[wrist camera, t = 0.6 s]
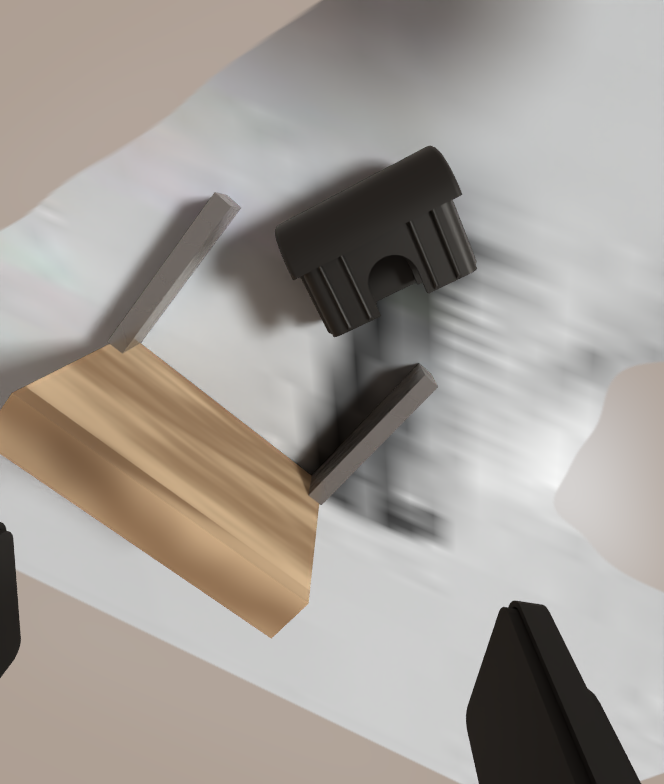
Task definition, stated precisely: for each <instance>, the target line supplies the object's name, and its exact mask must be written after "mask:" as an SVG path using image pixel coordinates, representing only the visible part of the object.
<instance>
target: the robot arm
mask: <svg viewBox="0 0 664 784" xmlns="http://www.w3.org/2000/svg"><path fill="white" fill-rule="evenodd" d="M20 642H21V636H20V623H19V610H18V596H17V583H16V569H15V556H14V543H13V535H12V534H11V532H9V531H6V527H5V525H4V524H3V523H1V522H0V678H1V676H2V675H3V674H4V672H5V671H6V670H7V668H8V667H9V666H10V665H11V663H12V661H13V660H14V659H15V657H16V655H17V653H18V650H19V647H20ZM466 725H467V732H468V736H469V741H470V745H471V750H472V754H473V759H474V763H475V768H476V772H477V777H478V781H479V784H641V783H640V781H639V779H638V777H637V775H636V773H635V771H634V769H633V767H632V765H631V763H630V761H629V759H628V757H627V755H626V753H625V751H624V749H623V747H622V745H621V743H620V741H619V739H618V737H617V735H616V733H615V731H614V729H613V727H612V726H611V724H610V722H609V720H608V718H607V716H606V714H605V712H604V710H603V708H602V706H601V704H600V702H599V701H598V699H597V698H596V696H595V694H594V693H592V692H591V691H590V690H589V689H587V687H586V685H585V683H584V681H583V679H582V677H581V675H580V673H579V671H578V669H577V667H576V665H575V663H574V661H573V659H572V657H571V655H570V652H569V650H568V648H567V646H566V644H565V642H564V640H563V638H562V636H561V634H560V632H559V630H558V628H557V626H556V624H555V622H554V620H553V618H552V616H551V614H550V612H549V611H548V609H547V608H546V607H545V606H544V605H540V604H534V603H527V602H521V601H512V602H511V603H510V605H509V607H508V608H507V607H502V608H501V609H500V611H499V614H498V617H497V620H496V623H495V626H494V629H493V632H492V635H491V638H490V641H489V644H488V647H487V650H486V653H485V656H484V659H483V662H482V665H481V668H480V671H479V674H478V677H477V680H476V683H475V686H474V689H473V692H472V695H471V698H470V701H469V704H468V707H467V713H466Z"/></svg>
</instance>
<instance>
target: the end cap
mask: <svg viewBox="0 0 664 784" xmlns="http://www.w3.org/2000/svg"><path fill="white" fill-rule="evenodd" d="M461 195H462V193H461V190H460V188H459V185H458V183H457V181H456V179H455V176H454V174H453V172H452V170H451V168H450V167H449V165H448V163H447V161H446V160H445V158H444V157H443V155H442V154H441V153H440V152H439V151H438V150H437V149H436V148H435V147H433V146H427V147H425V148H423V149H421V150H419V151H417V152H415V153H414V154H412V155H410V156H408V157H406V158H404V159H402V160H400V161H399V162H397V163H395V164H393V165H391V166H389V167H387V168H385V169H383V170H382V171H380V172H378V173H376V174H374V175H372V176H370V177H368V178H366V179H365V180H363V181H361V182H359V183H357V184H355V185H353V186H351V187H350V188H348V189H346V190H344V191H342V192H340V193H338V194H336V195H334V196H333V197H331V198H329V199H327V200H325V201H323V202H321V203H319V204H317V205H316V206H314V207H312V208H310V209H308V210H306V211H304V212H302V213H301V214H299V215H297V216H295V217H293V218H291V219H289V220H287V221H285V222H284V223H282V224H280V225H278V226H277V227H276V229H275V236H276V240H277V243H278V246H279V249H280V252H281V254H282V257H283V259H284V262H285V264H286V266H287V268H288V270H289V272H290V274H291V277H292V279H293V280H295V279H297V278H299V277H301V279H302V281H303V283H304V285H305V287H306V289H307V291H308V293H309V295H310V297H311V299H312V301H313V303H314V305H315V307H316V309H317V311H318V313H319V315H320V317H321V319H322V321H323V323H324V325H325V327H326V329H327V331H328V332H329V333H331V334H332V335H333V337H337V336H340V335H342V334H344V333H347V332H349V331H351V330H353V329H355V328H357V327H359V326H361V325H363V324H365V323H368V322H370V321H372V320H374V319H376V318H378V317H380V316H381V315H380V312H379V310H378V308H377V306H376V304H377V303H376V302H377V301H379V300H381V299H383V298H385V297H387V296H389V295H391V294H393V293H395V292H397V291H399V290H401V289H404V288H406V287H408V286H410V285H412V284H414V283H417V284H420V283H422V282H423V285H424V287H425V289H426V292H427V293H431V292H433V291H435V290H437V289H439V288H441V287H443V286H445V285H447V284H449V283H452V282H454V281H456V280H458V279H460V278H462V277H464V276H466V275H468V274H470V273H472V272H474V271H475V270H476V269H477V267H476V259H475V256H474V254H473V251H472V248H471V246H470V243H469V241H468V238H467V236H466V233H465V231H464V228H463V225H462V223H461V220H460V218H459V215H458V213H457V210H456V207H455V205H454V202H453V199H455V198H457V197H459V196H461Z"/></svg>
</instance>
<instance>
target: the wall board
mask: <svg viewBox="0 0 664 784" xmlns="http://www.w3.org/2000/svg"><path fill="white" fill-rule="evenodd" d="M0 454H1V455H3V456H4V457H6V458H7V459H9V460H10V461H12V462H13V463H14V464H16V465H17V466H19V467H20V468H22V469H23V470H25V471H26V472H28V473H29V474H31V475H32V476H34V477H35V478H36V479H38V480H39V481H41V482H42V483H44V484H45V485H47V486H48V487H50V488H51V489H53V490H54V491H56V492H57V493H58V494H60V495H61V496H63V497H64V498H66V499H67V500H69V501H70V502H72V503H73V504H75V505H76V506H78V507H79V508H81V509H82V510H83V511H85V512H86V513H88V514H89V515H91V516H92V517H94V518H95V519H97V520H98V521H100V522H101V523H103V524H104V525H105V526H107V527H108V528H110V529H111V530H113V531H114V532H116V533H117V534H119V535H120V536H122V537H123V538H125V539H126V540H127V541H129V542H130V543H132V544H133V545H135V546H136V547H138V548H139V549H141V550H142V551H144V552H145V553H147V554H148V555H149V556H151V557H152V558H154V559H155V560H157V561H158V562H160V563H161V564H163V565H164V566H166V567H167V568H169V569H170V570H172V571H173V572H174V573H176V574H177V575H179V576H180V577H182V578H183V579H185V580H186V581H188V582H189V583H191V584H192V585H194V586H195V587H196V588H198V589H199V590H201V591H202V592H204V593H205V594H207V595H208V596H210V597H211V598H213V599H214V600H216V601H217V602H218V603H220V604H221V605H223V606H224V607H226V608H227V609H229V610H230V611H232V612H233V613H235V614H236V615H238V616H239V617H241V618H242V619H243V620H245V621H246V622H248V623H249V624H251V625H252V626H254V627H255V628H257V629H258V630H260V631H261V632H263V633H264V634H265V635H267V636H268V637H270V638H272V637H273V636H274V635H276V634H277V633H278V632H279V631H280V630H281V629H282V628H283V627H284V626H285V625H286V624H287V623H288V622H289V621H290V620H291V619H293V618H294V617H295V616H296V615H297V614H298V613H299V612H300V611H301V610H302V609H303V608H304V607H305V606H306V605H307V604H308V603H309V593H310V584H311V575H312V565H313V556H314V547H315V537H316V528H317V518H318V509H319V503H318V502H316V501H315V500H314V499H312V498H311V497H310V496H308V495H309V489H310V482H311V475H310V474H309V473H307V472H306V471H305V470H304V469H302V468H301V467H300V466H298V465H297V464H296V463H295V462H293V461H292V460H291V459H289V458H288V457H287V456H286V455H284V454H283V453H282V452H280V451H279V450H278V449H276V448H275V447H274V446H273V445H271V444H270V443H269V442H267V441H266V440H265V439H264V438H262V437H261V436H260V435H258V434H257V433H256V432H254V431H253V430H252V429H251V428H249V427H248V426H247V425H245V424H244V423H243V422H242V421H240V420H239V419H238V418H236V417H235V416H234V415H233V414H231V413H230V412H229V411H227V410H226V409H225V408H223V407H222V406H221V405H220V404H218V403H217V402H216V401H214V400H213V399H212V398H211V397H209V396H208V395H207V394H205V393H204V392H203V391H201V390H200V389H199V388H198V387H196V386H195V385H194V384H192V383H191V382H190V381H189V380H187V379H186V378H185V377H183V376H182V375H181V374H180V373H178V372H177V371H176V370H174V369H173V368H172V367H170V366H169V365H168V364H167V363H165V362H164V361H163V360H161V359H160V358H159V357H158V356H156V355H155V354H154V353H152V352H151V351H150V350H148V349H147V348H146V347H145V346H143V345H142V344H141V343H140V344H138V345H137V346H135V347H133V348H131V349H130V350H128V351H126V352H124V353H123V354H122V353H121V352H120V351H118V350H117V349H116V348H114V347H113V346H112V345H110V344H109V345H107V346H105V347H103V348H101V349H99V350H97V351H95V352H93V353H91V354H89V355H87V356H85V357H83V358H81V359H79V360H77V361H75V362H73V363H71V364H69V365H67V366H65V367H63V368H61V369H59V370H57V371H55V372H53V373H51V374H49V375H47V376H45V377H43V378H41V379H39V380H37V381H35V382H33V383H31V384H29V385H27V386H25V387H23V388H21V389H19V390H17V391H15V392H13V393H12V394H11V395H10V397H9V398H8V400H7V401H6V403H5V404H4V406H3V407H2V409H1V410H0Z"/></svg>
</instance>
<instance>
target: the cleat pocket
mask: <svg viewBox="0 0 664 784" xmlns="http://www.w3.org/2000/svg"><path fill="white" fill-rule="evenodd" d="M240 209H241V207H240V206H239V205H237V204H236V203H235V202H234V201H233V200H232V199H231V198H229V197H228V196H227V195H224V194H220V193H216V192H215V193H214V194H213V195H212V197H211V198H210V200H209V201H208V202H207V204H206V205H205V207H204V208H203V209H202V211H201V212H200V213H199V215H198V216H197V218H196V219H195V220H194V222H193V223H192V225H191V226H190V227H189V229H188V230H187V232H186V233H185V234H184V236H183V237H182V238H181V240H180V241H179V243H178V244H177V245H176V247H175V248H174V250H173V251H172V252H171V254H170V255H169V257H168V258H167V259H166V261H165V262H164V264H163V265H162V266H161V268H160V269H159V270H158V272H157V273H156V275H155V276H154V277H153V279H152V280H151V282H150V283H149V284H148V286H147V287H146V289H145V290H144V291H143V293H142V294H141V296H140V297H139V298H138V300H137V301H136V302H135V304H134V305H133V307H132V308H131V309H130V311H129V312H128V314H127V315H126V316H125V318H124V319H123V321H122V322H121V323H120V325H119V326H118V328H117V329H116V330H115V332H114V333H113V334H112V336H111V337H110V339H109V340H108V341H107V342H108V343H109V344H110V345H112V346H113V347H114V348H116V349H117V350H118V351H120V352H121V353H122V354H123V353H124V352H126V351H128V350H130V349H131V348H133V347H135V346H137V345H138V344H140V343H141V342H142V341H143V339H144V338H145V337H146V335H147V334H148V332H149V331H150V330H151V328H152V327H153V326H154V324H155V323H156V322H157V320H158V319H159V318H160V316H161V315H162V314H163V312H164V311H165V310H166V308H167V307H168V306H169V304H170V303H171V302H172V300H173V299H174V298H175V296H176V295H177V293H178V292H179V291H180V289H181V288H182V287H183V285H184V284H185V283H186V281H187V280H188V279H189V277H190V276H191V275H192V273H193V272H194V271H195V269H196V268H197V267H198V265H199V264H200V263H201V261H202V260H203V259H204V257H205V256H206V254H207V253H208V252H209V250H210V249H211V248H212V246H213V245H214V244H215V242H216V241H217V240H218V238H219V237H220V236H221V234H222V233H223V232H224V230H225V229H226V228H227V226H228V225H229V224H230V222H231V221H232V220H233V218H234V217H235V215H236V214H237V213H238V211H239V210H240ZM437 388H438V385H437V384H436V382H435V380H434V378H433V376H432V374H431V373H430V372H429V371H427V370H426V369H425V368H424V367H423V366H422V365H421V364H418V365H417V366H416V367H415V368H414V369H413V370H412V371H411V372H410V373H409V374H408V375H407V376H406V377H405V378H404V379H403V380H402V381H401V383H400V384H399V385H398V386H397V387H396V388H395V389H394V390H393V391H392V392H391V393H390V394H389V395H388V396H387V397H386V398H385V399H384V400H383V401H382V402H381V403H380V404H379V406H378V407H377V408H376V409H375V410H374V411H373V412H372V413H371V414H370V415H369V416H368V417H367V418H366V419H365V420H364V421H363V422H362V423H361V424H360V425H359V426H358V427H357V428H356V430H355V431H354V432H353V433H352V434H351V435H350V436H349V437H348V438H347V439H346V440H345V441H344V442H343V443H342V444H341V445H340V446H339V447H338V448H337V449H336V450H335V451H334V453H333V454H332V455H331V456H330V457H329V458H328V459H327V460H326V461H325V462H324V463H323V464H322V465H321V466H320V467H319V468H318V469H317V470H316V471H315V472H314V473H313V474H312V476H311V482H310V489H309V495H308V496H310V497H311V498H312V499H314V500H315V501H316V502H318V503H319V504H320V505H322V504H323V503H324V502H325V501H326V500H327V499H328V498H329V497H330V496H331V495H332V494H333V493H334V492H335V491H336V490H337V489H338V488H339V487H340V486H341V485H342V484H343V483H344V482H345V481H346V480H347V479H348V478H349V477H350V476H351V475H352V474H353V473H354V472H355V471H356V470H357V468H358V467H359V466H360V465H361V464H362V463H363V462H364V461H365V460H366V459H367V458H368V457H369V456H370V455H371V454H372V453H373V452H374V451H375V450H376V449H377V448H378V447H379V446H380V445H381V444H382V443H383V442H384V441H385V440H386V439H387V438H388V437H389V436H390V435H391V434H392V433H393V432H394V431H395V430H396V429H397V428H398V427H399V426H400V425H401V424H402V423H403V422H404V421H405V420H406V419H407V418H408V417H409V416H410V415H411V414H412V413H413V412H414V411H415V410H416V409H417V408H418V407H419V406H420V405H421V404H422V403H423V402H424V401H425V400H426V399H427V398H428V397H429V396H430V395H431V394H432V393H433V392H434V391H435V390H436V389H437Z"/></svg>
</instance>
